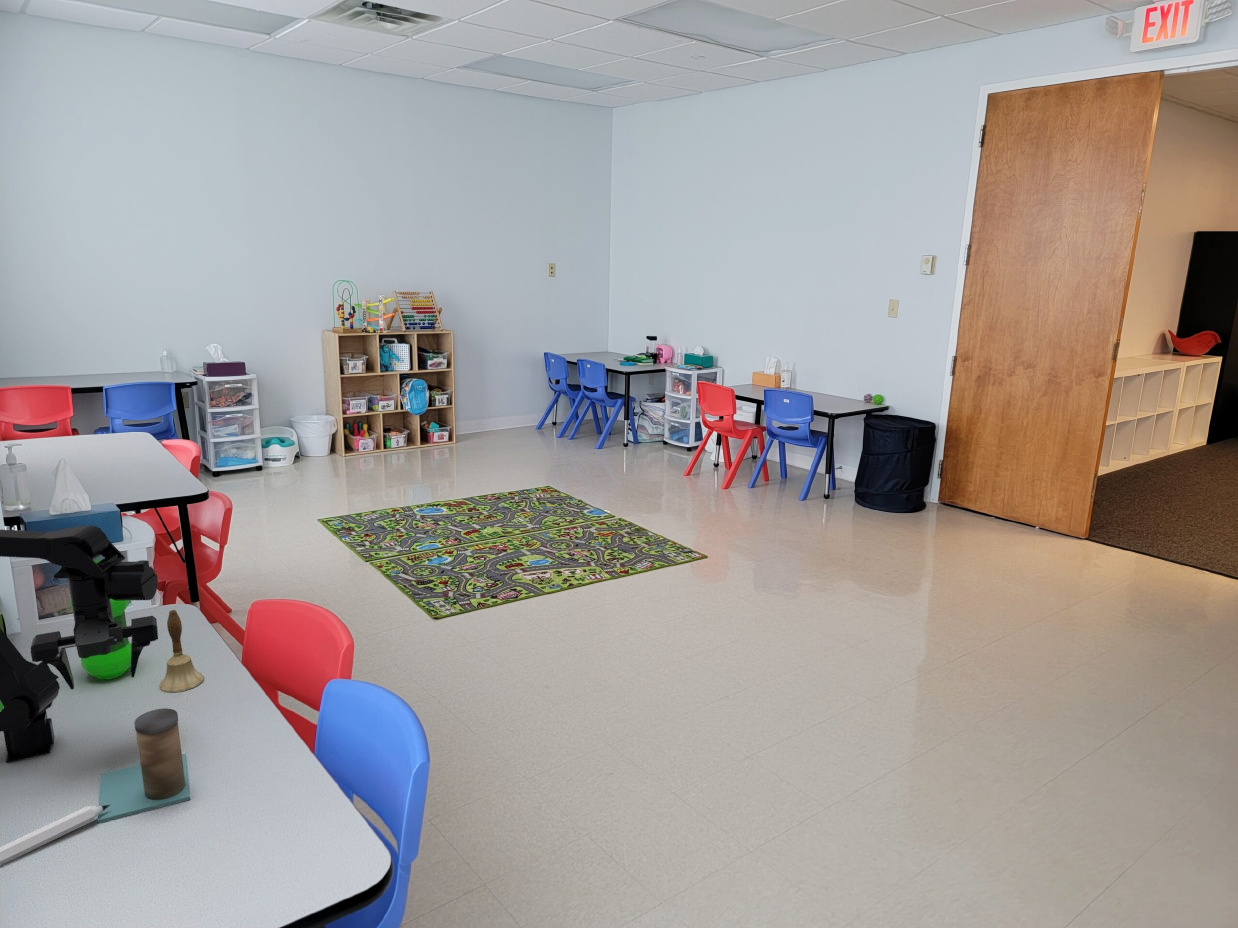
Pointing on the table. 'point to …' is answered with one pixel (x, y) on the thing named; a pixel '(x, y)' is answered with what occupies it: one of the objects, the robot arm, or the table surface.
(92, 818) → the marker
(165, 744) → the brown upright cylinder
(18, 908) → the table surface
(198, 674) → the hand bell
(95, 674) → the plastic bottle
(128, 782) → the mat
